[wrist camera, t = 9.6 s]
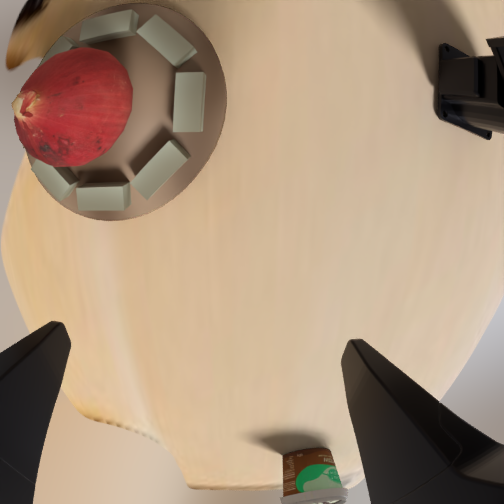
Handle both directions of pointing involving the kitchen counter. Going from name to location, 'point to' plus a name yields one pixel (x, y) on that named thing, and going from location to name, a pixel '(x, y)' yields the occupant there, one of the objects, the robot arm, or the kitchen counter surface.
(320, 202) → the kitchen counter surface
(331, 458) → the food container
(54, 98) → the pomegranate
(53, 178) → the display stand
